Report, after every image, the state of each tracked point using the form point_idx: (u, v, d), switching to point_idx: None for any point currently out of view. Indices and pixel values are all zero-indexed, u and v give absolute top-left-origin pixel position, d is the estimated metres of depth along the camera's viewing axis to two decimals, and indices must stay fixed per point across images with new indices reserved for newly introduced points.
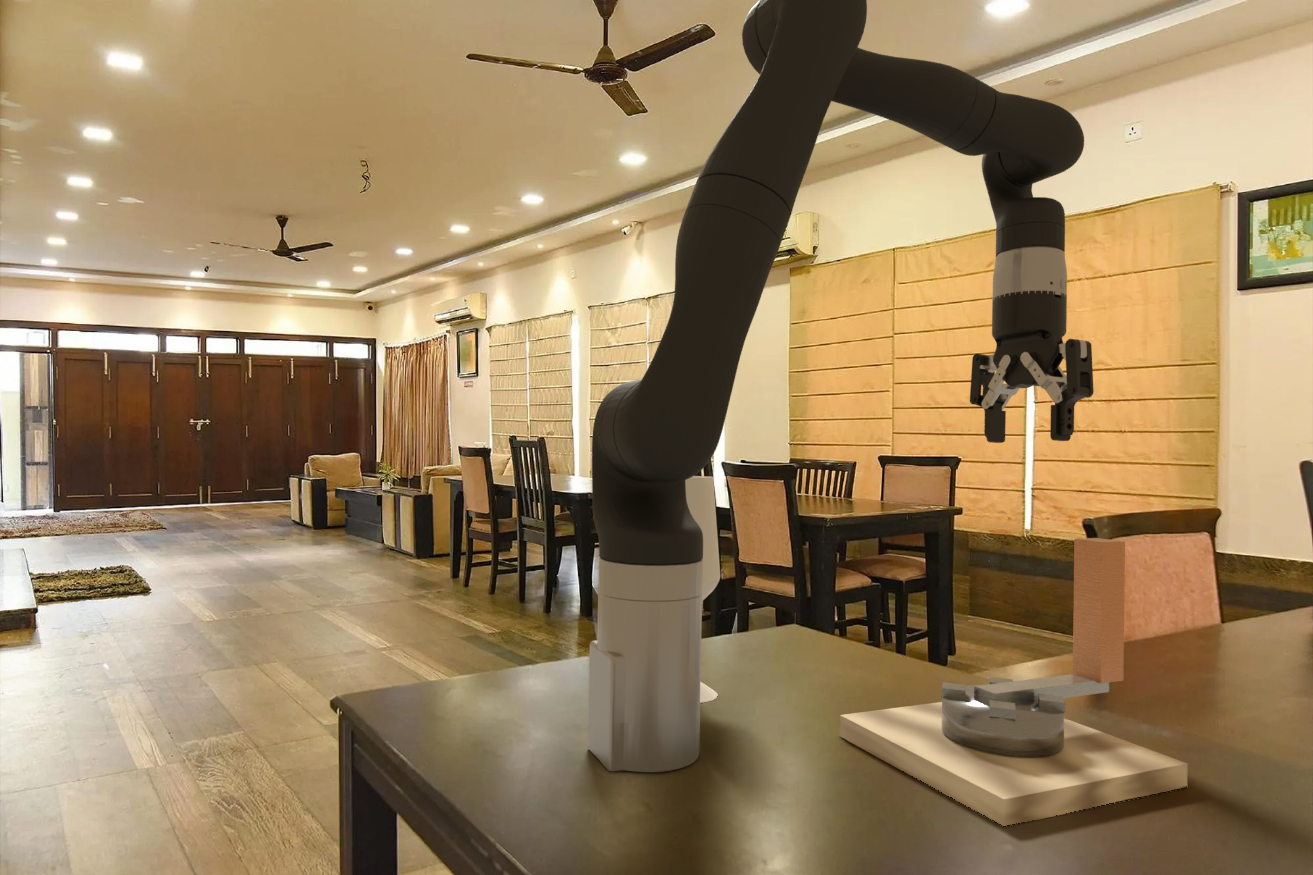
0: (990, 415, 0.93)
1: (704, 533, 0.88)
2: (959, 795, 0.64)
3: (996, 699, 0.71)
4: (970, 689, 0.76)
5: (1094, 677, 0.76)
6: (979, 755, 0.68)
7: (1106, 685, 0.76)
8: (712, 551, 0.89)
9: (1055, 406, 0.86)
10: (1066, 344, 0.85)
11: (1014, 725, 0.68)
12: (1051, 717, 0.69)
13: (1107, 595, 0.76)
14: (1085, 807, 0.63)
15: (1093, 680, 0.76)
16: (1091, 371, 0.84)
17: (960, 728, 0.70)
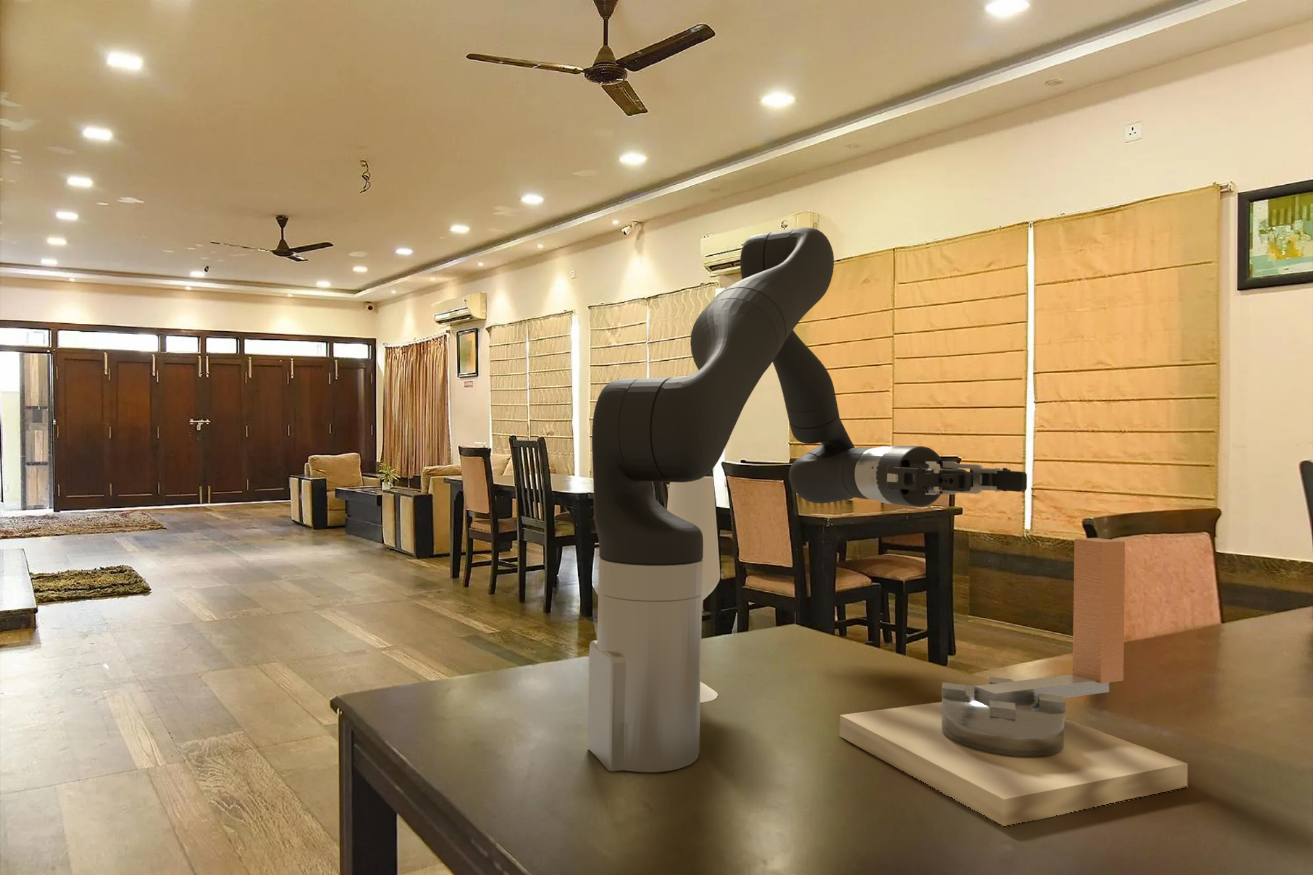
0: None
1: (704, 533, 0.88)
2: (959, 795, 0.64)
3: (996, 699, 0.71)
4: (970, 689, 0.76)
5: (1094, 677, 0.76)
6: (979, 755, 0.68)
7: (1106, 685, 0.76)
8: (712, 551, 0.89)
9: (1002, 470, 0.94)
10: None
11: (1014, 725, 0.68)
12: (1051, 717, 0.69)
13: (1107, 595, 0.76)
14: (1085, 807, 0.63)
15: (1093, 680, 0.76)
16: None
17: (960, 728, 0.70)
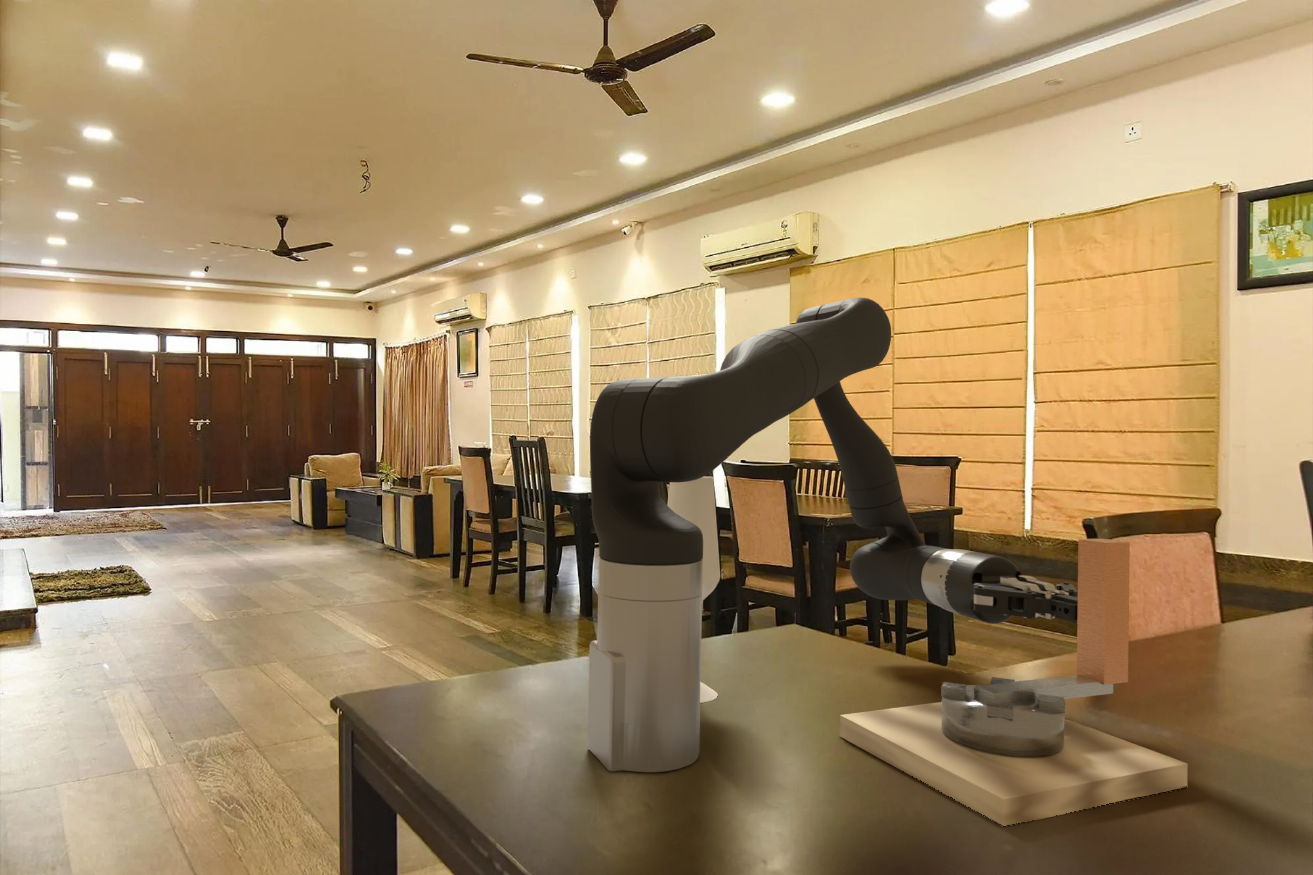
0: (1063, 596, 0.81)
1: (704, 533, 0.88)
2: (959, 795, 0.64)
3: (995, 699, 0.71)
4: (971, 689, 0.76)
5: (1098, 678, 0.76)
6: (979, 755, 0.68)
7: (1110, 686, 0.76)
8: (712, 550, 0.89)
9: (1066, 594, 0.82)
10: (1061, 583, 0.89)
11: (1011, 725, 0.68)
12: (1049, 717, 0.68)
13: (1111, 596, 0.75)
14: (1085, 807, 0.63)
15: (1096, 681, 0.75)
16: None
17: (958, 727, 0.71)
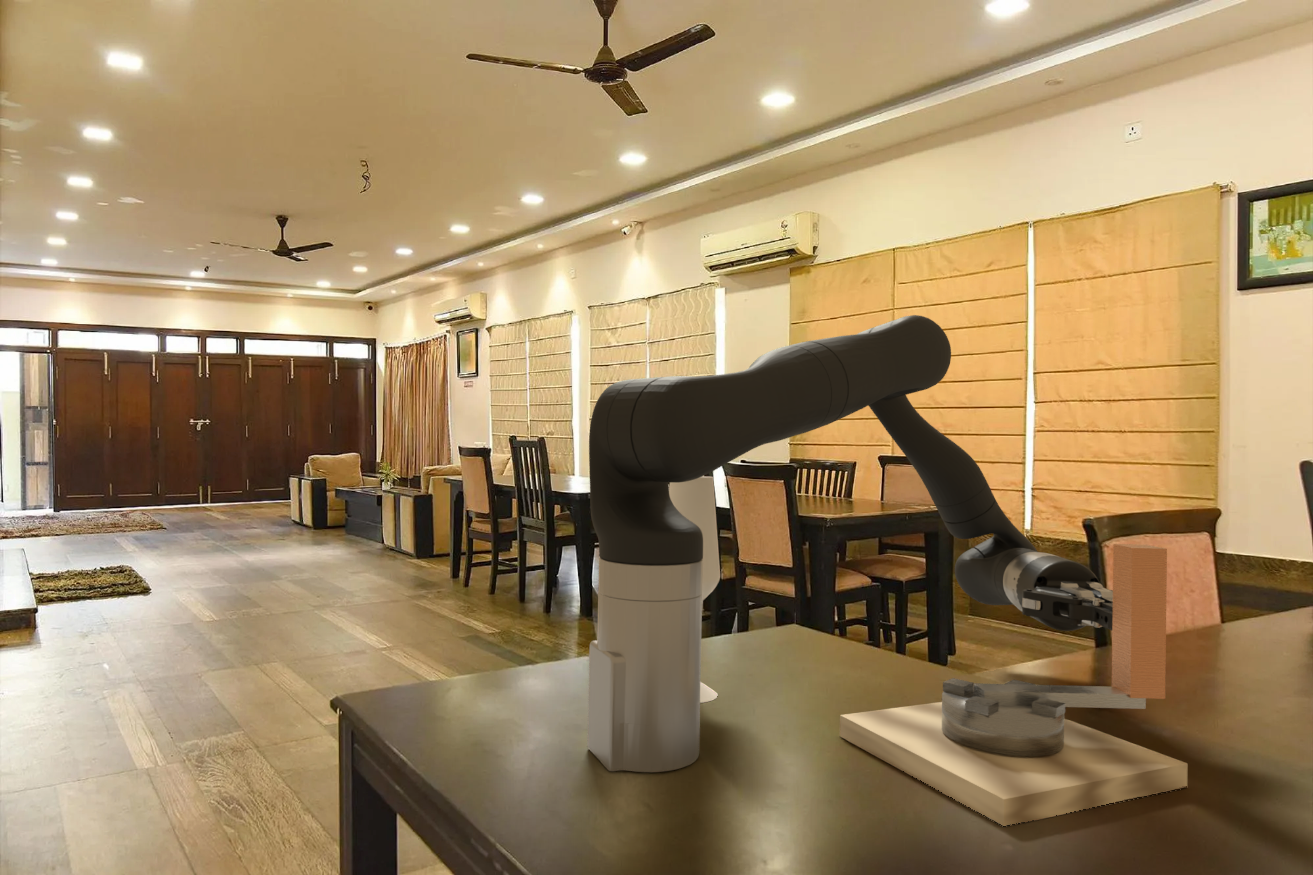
0: (1110, 604, 0.77)
1: (704, 533, 0.88)
2: (959, 795, 0.64)
3: (986, 697, 0.72)
4: None
5: (1126, 691, 0.72)
6: (979, 755, 0.68)
7: (1141, 701, 0.71)
8: (712, 550, 0.89)
9: None
10: None
11: (987, 721, 0.69)
12: (1032, 718, 0.68)
13: (1140, 605, 0.71)
14: (1085, 807, 0.63)
15: (1123, 694, 0.72)
16: None
17: (946, 720, 0.72)
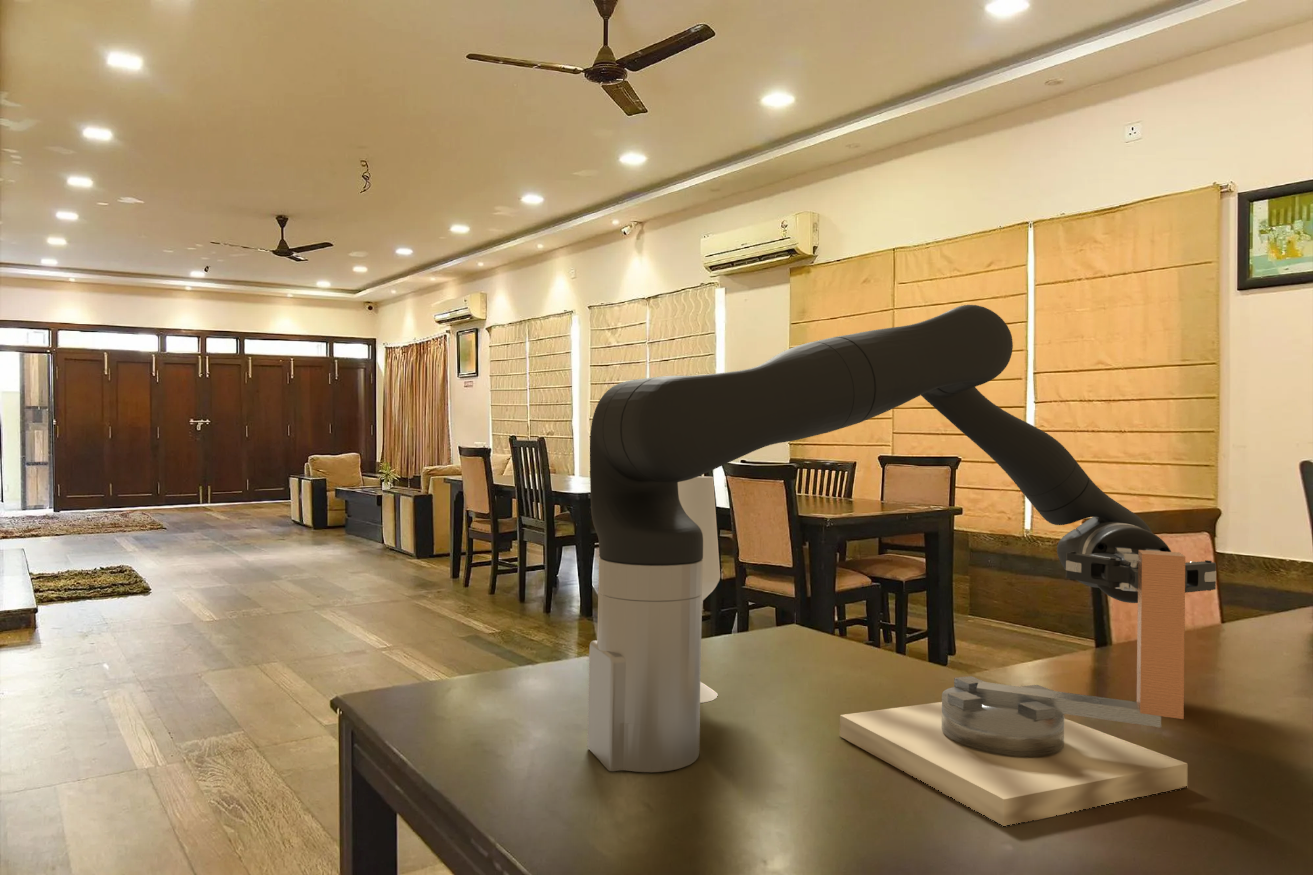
0: None
1: (704, 533, 0.88)
2: (959, 795, 0.64)
3: (978, 694, 0.72)
4: None
5: (1139, 706, 0.67)
6: (979, 755, 0.68)
7: (1155, 718, 0.67)
8: (712, 551, 0.89)
9: None
10: (1203, 561, 0.76)
11: (963, 715, 0.70)
12: (1006, 717, 0.68)
13: (1152, 615, 0.67)
14: (1085, 807, 0.63)
15: (1134, 708, 0.67)
16: (1198, 590, 0.73)
17: None
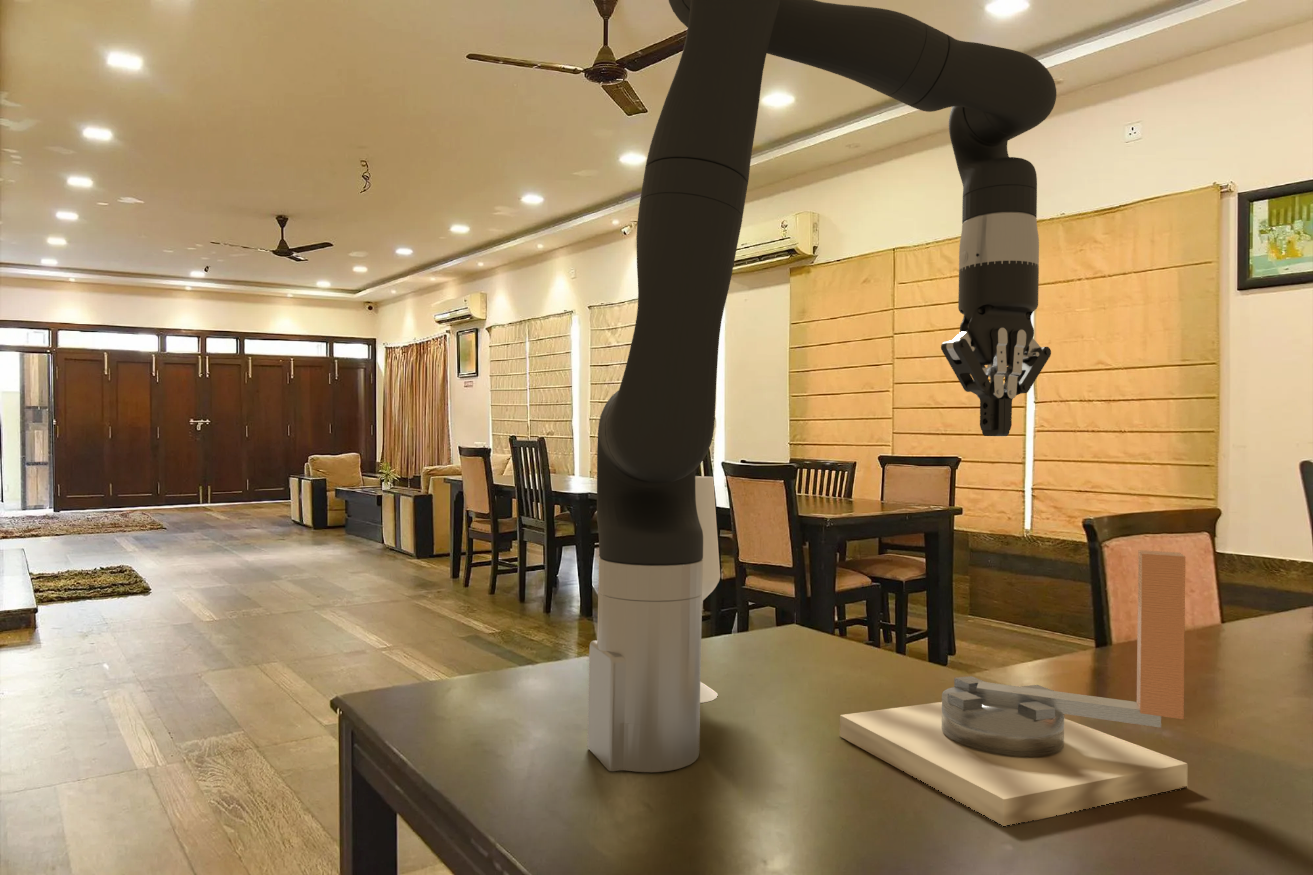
0: (1002, 405, 0.82)
1: (704, 533, 0.88)
2: (959, 795, 0.64)
3: (978, 694, 0.72)
4: None
5: (1139, 706, 0.67)
6: (979, 755, 0.68)
7: (1156, 718, 0.67)
8: (712, 551, 0.89)
9: (1009, 401, 0.82)
10: (1045, 349, 0.84)
11: (963, 715, 0.70)
12: (1006, 717, 0.68)
13: (1152, 615, 0.67)
14: (1085, 807, 0.63)
15: (1134, 708, 0.67)
16: None
17: None
